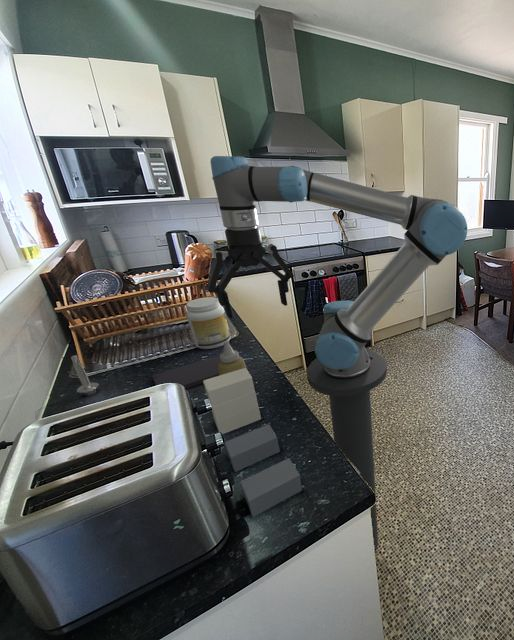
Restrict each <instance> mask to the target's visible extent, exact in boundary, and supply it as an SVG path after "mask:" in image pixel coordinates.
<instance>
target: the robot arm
mask: <svg viewBox="0 0 514 640" xmlns="http://www.w3.org/2000/svg"><path fill="white" fill-rule="evenodd" d="M209 162H210V168H211V174H212V176H211V178H212V181H213V184H214V188H215V189H214V190H215V193H216V196H217V201H218V205H219V206H218V207H219V212H220V216H221V221H222V225H223V227H224V228H225V230H224V233H225V234H224V235H225V239H226V243H227V250H221V251H220V250H217V249H216V250H214V251H213V256H214V261H213V263H212V267H211V271H210V273H209V276H208V280H207V283H206V287H205V289H206V290H207V291H208V293H211V294H212V293H214V294H216V296H217V297H216V298H218V301H219V303H220V305H221V306H222V307H224V310H225V314H226V317H228V318H229V319H233V318H234V316H233V312H232V308H231V304H230V299H229V295H228V292H227V291H226V288H227V287H228V285H229V284H230V282H231V281H232V279H233V277H234V276H235V275H236V273H237V271H239V270H240V268H248V267H257V266H258V265H259V264H261V265H262V266H263V267H265V268H266V269H267V270H268V271H270V272H271V273H272V274H274V275H275V276H276V277H277V278H278V280H277V287H278V293H279V298H280V303H281V304H282V305H283V306H285V307H286V306H288V299H287V293H289V291H290V289H289V283H288V282H290V279H293V278H294V277H295V275H294V273H293V272H292V270H291V269H290V267H289V266H288V265H287V263H286V262H285V261H284V259H283V258H282V256H281V255H280V254H279V251H278V247H277V246H276V244H275V245H274V244H273V243H269V244H268V245H265V246H264V244H263V241H262V235H261V230H260V228H259V227H258V226H259V218H258V213H257V207H256V202H277V203H280V202H281V203H292V204H293V203H297V202H304V201H305V202H311V203H315V204H319V205H322V206H327V207H331V208H333V209H338V210H342V211H346V212H350V213H353V214H357V215H361V216H366V217H369V218H372V219H376V220H381V221H383V222H384V221H385V222H389V223H392V224H396V225H400V226H401V227H402V229H403V230H405V233H403V239H404V242H403V244H402V245H401V246H400V248H399V249H398V250H397V251H396V252H395V253H394V255H393V256H392V257H391V258H390V259H389V260H388V262H387V263H386V264H385V265H384V266H383V267H382V268H381V270H380V271H379V272H378V273H377V274H376V275H375V277H374V278H373V279H372V280H371V281H370V283H369V284H368V285H367V286H366V287H365V288H364V289H363V291H362V292H360V294H359V295H358V297H357V298H356V299H355V300H336V301H331V302H327V303H326V304H324V306H323V311H322V313H323V316H324V317H323V318H324V321H323V324H322V327H321V330H320V331H319V334H318V337H317V338H316V340H315V343H314V345H315V346H314V353H315V356H316V358H318V360H319V361H320V362H321V363H322V364H323V365H324V371H325V373H326V374H327V375H328V376H330V377H332V378H335V379H352V378H356V377H359V376H361V375H363V374H365V373H366V372H367V371H368V370H369V369H370V366H371V364H370V359H373V358H372V357H370V356H369V355H368V353H367V351H366V349H367V348H366V345H367V344H368V342H369V341H370V340H371V339H372V338H373V329H374V328H375V327H376V325H377V324H378V323H379V322H380V321H381V320H382V319H383V318H384V316H386V314H388V312H390V310H391V309H392V308H393V307H394V306H395V304H396V303H398V301H399V300H400V299H401V298H402V296H403V295H404V294H406V293H407V291H408V290H409V289H410V288H411V287H412V285H414V284H415V282H416V281H417V280H418V279H419V278H420V277H421V275H423V273H424V272H425V271H426V270H427V269H428V268H429V267H431V266H438V265H439V264H440V263H441V262H442V261H443V260H444V259H445V258H446V256H449V255H453V254H454V253H456V252H457V251H459V249H461V247H462V246H463V244H464V243H465V242H466V239H467V235H468V224H467V223H468V222H467V220H466V217H465V216H464V214H463V212H462V210H460V209H459V208H458V207H457V206H456V205H455V204H452V203H450V202H448V201H446V200H443V199H440V198H439V199H438V198H428V197H422V196H418V195H415V194H409V196H403V195H400V194H396V193H391V192H388V191H384V190H380V189H378V188H373V187H369V186H366V185H362V184H358V183H354V182H351V181H348V180H344V179H341V178H340V179H339V178H336V177H332V176H328V175H325V174H321V173H317V172H313V171H310V170H306V169H303V168H302V167H299V166H295V165H288V166H256V165H250V164H249V161H248V159H247V158H246V157H245V156H237V155H235V156H232V155H231V156H229V155H213V156H212V157H211V158H210V161H209ZM266 252H267V253H268V254H269V255H271V256H272V258H273V259H274V260H275V262H276V263H277V264H278V266H279V267H280V269H281V270H282V271H283V272H284V274H283V273H282V272H280V270H278V269H277V268H276V267H274V266H273V265H272V264H270V263H269V262H268V261H267V260H266V259H265V258H264V256H265V253H266ZM227 257H229V258H230V259H231V261H230V263H229V266H228V268H227V269H226V271H225V272H224V274H223V275H222V277H221V278H220V279H219V276H220V273H221V270H222V266H223V262H224V261H226V258H227ZM218 280H219V281H218Z"/></svg>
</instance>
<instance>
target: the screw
mask: <svg viewBox="0 0 514 640" xmlns="http://www.w3.org/2000/svg"><path fill="white" fill-rule="evenodd" d="M70 359H71V361H72V363H73V364H72V367H73V368H74V369H75V372H76V375H77V377H78V379H79V382H80V384H81V385H80V386H79V387H78V388H77V389H76V393H78V394H83V396H86V397H89V396H92V395H95V394H96V393H97V389H98V388H99V387H100V384H99V383H98V382H91V381H90V379H89V376H88V375H87V371H86V369H85V368H84V365H83V363H82V362H81V361H80V358H79V356H78V355H72V356H71V357H70Z"/></svg>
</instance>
